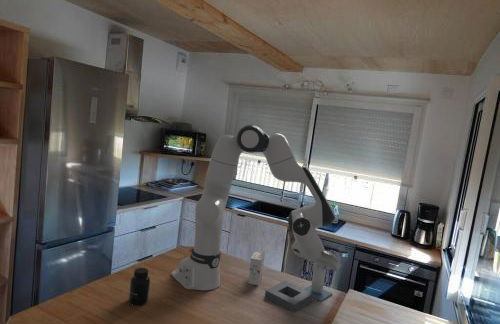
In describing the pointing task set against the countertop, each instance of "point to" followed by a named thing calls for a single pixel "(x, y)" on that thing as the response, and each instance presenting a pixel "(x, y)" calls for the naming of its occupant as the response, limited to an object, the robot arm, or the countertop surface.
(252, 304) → the countertop surface
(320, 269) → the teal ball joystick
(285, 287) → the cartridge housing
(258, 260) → the ink cartridge box
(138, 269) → the supplement bottle
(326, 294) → the rubber mat
